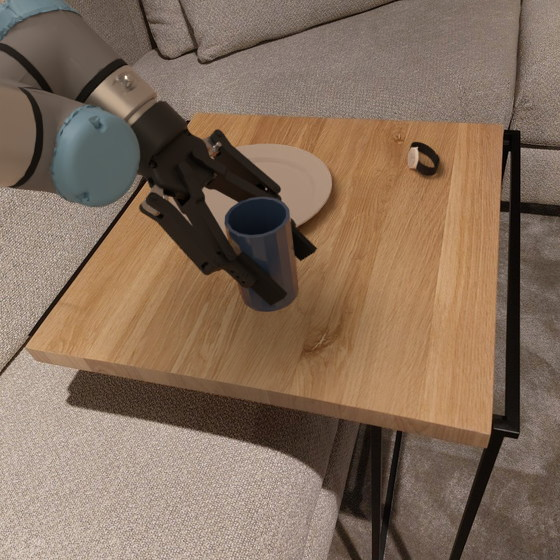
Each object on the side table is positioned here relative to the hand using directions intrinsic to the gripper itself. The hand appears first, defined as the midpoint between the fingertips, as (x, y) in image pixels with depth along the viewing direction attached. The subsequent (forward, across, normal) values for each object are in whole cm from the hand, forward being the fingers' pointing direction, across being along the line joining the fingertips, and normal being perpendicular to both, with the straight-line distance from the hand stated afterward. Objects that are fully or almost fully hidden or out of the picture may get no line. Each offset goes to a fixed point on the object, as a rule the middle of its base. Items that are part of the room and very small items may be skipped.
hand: (294, 276), depth 64 cm
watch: (+9, +39, +5) cm, 40 cm away
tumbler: (0, 0, +5) cm, 5 cm away
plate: (-7, +23, +21) cm, 32 cm away
